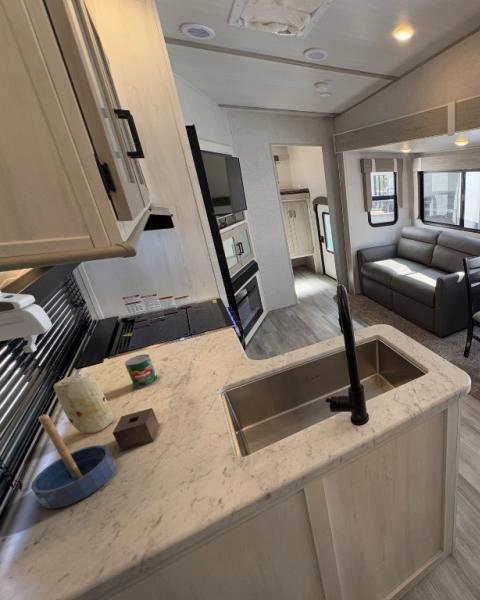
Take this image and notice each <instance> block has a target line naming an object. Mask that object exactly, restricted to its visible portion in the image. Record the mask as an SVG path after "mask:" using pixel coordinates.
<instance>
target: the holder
mask: <svg viewBox="0 0 480 600" xmlns="http://www.w3.org/2000/svg"><path fill="white" fill-rule="evenodd" d="M159 427H160V423H159V421H158V419H157V416H156V413H155V411H154V409H153V407H150V408H147V409H143V410H140V411H137V412H133V413H128V414H126V415H121V416H120V418H119V420H118V422H117V424H116V425H115V427H114V430H112V436H113V437H114V439H115V441H116V444H117V446H118V447H119V449H120V452H123V451H126V450H129V449H132V448H136V447H139V446H141V445H146V444H148V443H151V442H154V440H155V437H156V435H157V432H158V430H159Z"/></svg>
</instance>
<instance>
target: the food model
mask: <svg viewBox="0 0 480 600" xmlns="http://www.w3.org/2000/svg"><path fill="white" fill-rule="evenodd" d="M53 390H54V393H55V395H56V398H57V401H58V402H59V405H60V407H61V408H62V411H63V412H64V414H65V416H66V417H67V419H68V421H69V423H70V424H71V425H72V426H73V427H74V429H76V430H77V431H78V432H79V433H81V434H88V433H93V434H95V433H98V432H101V431H103V430H104V429H105V428H106V427H108V426H109V425H111V423H113V422H114V421H115V416H114V414H113V413H112V409H111V406H110V404H109V402H108V400H107V398H106V396H105V394H104V391H103V389H102V388H101V386H100V385H99V383H98V382H97V379H96V378H95V376H94V374H93V373H89V372H87V373H86V372H85V373H80V374H74V375H70V376H67V377H64V378H63V379H61V380H59V381H57V382H55V383H54V384H53Z"/></svg>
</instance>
